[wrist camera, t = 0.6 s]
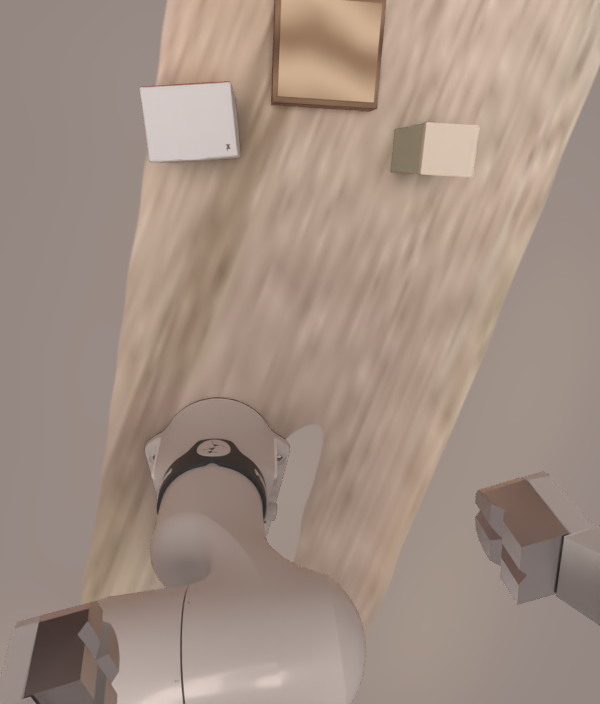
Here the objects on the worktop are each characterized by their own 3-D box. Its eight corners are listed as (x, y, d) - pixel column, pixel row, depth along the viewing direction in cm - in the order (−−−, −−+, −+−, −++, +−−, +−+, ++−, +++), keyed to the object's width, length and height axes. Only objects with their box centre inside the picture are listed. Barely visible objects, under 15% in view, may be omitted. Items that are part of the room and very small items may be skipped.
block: (433, 174, 65) (472, 177, 54) (390, 171, 64) (420, 174, 53) (438, 131, 63) (479, 125, 52) (394, 129, 63) (426, 122, 52)
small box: (235, 96, 61) (232, 80, 48) (241, 158, 63) (239, 157, 50) (160, 101, 60) (137, 85, 48) (168, 163, 62) (148, 164, 50)
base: (370, 111, 62) (377, 108, 58) (271, 104, 61) (272, 101, 57) (378, 8, 59) (387, -2, 55) (274, -1, 58) (276, -12, 54)
